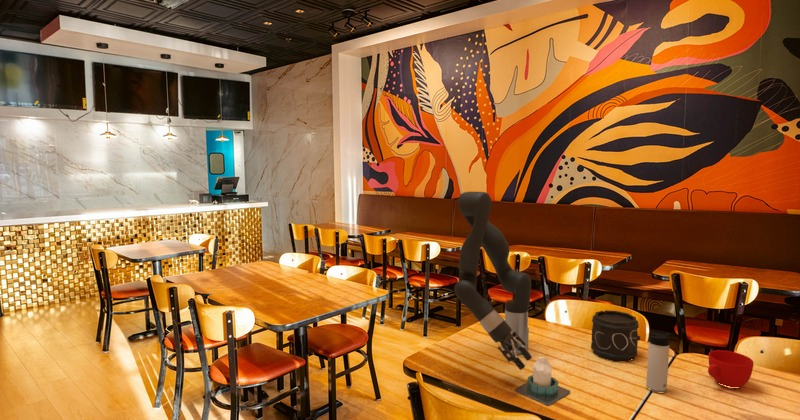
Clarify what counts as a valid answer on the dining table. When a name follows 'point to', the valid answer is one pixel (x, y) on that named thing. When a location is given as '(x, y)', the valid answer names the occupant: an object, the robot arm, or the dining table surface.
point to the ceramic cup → (730, 368)
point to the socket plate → (543, 399)
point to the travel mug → (658, 361)
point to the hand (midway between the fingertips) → (526, 363)
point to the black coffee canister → (614, 335)
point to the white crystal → (542, 372)
